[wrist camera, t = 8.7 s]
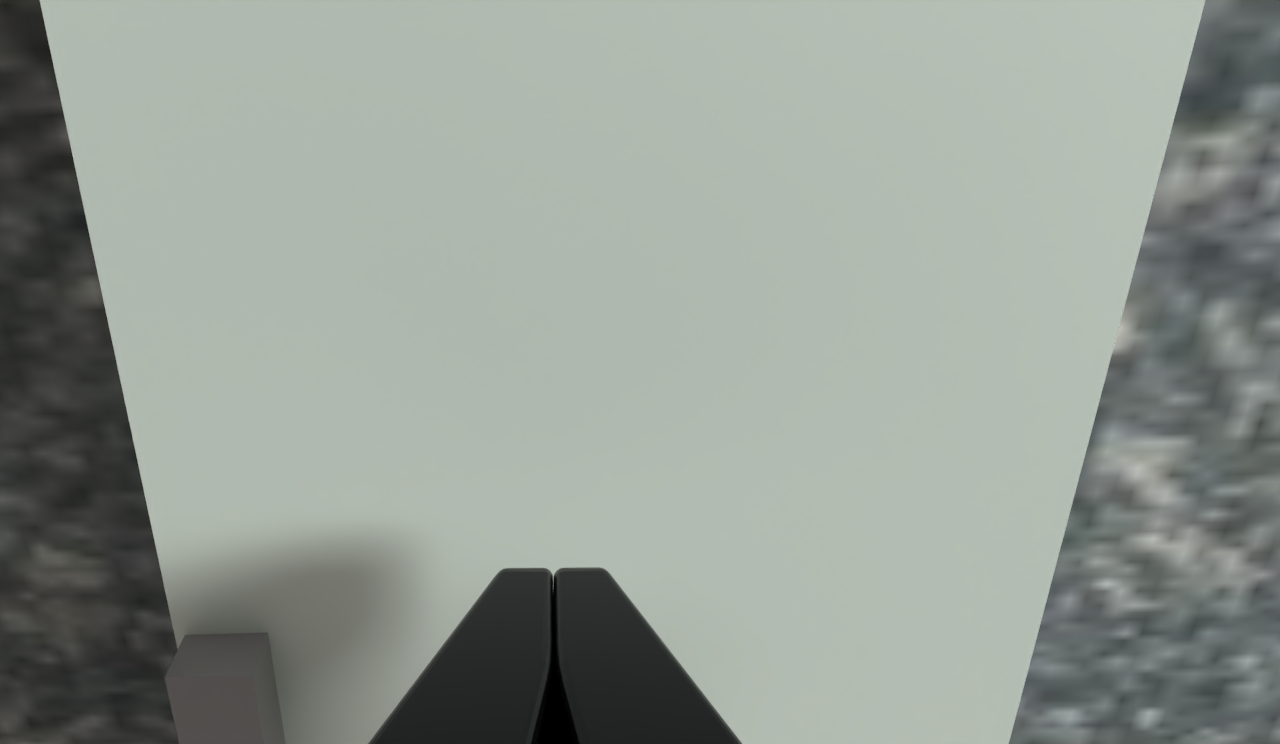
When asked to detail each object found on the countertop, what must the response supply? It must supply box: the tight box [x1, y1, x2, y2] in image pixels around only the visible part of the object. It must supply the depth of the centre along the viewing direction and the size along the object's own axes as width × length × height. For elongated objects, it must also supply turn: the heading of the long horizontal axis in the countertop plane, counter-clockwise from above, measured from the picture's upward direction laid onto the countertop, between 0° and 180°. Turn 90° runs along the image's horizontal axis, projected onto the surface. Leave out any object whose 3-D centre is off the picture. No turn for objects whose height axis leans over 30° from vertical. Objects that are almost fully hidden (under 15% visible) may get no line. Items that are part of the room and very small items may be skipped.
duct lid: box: [40, 0, 1205, 744], centre depth 8 cm, size 20×9×1 cm, turn 178°
